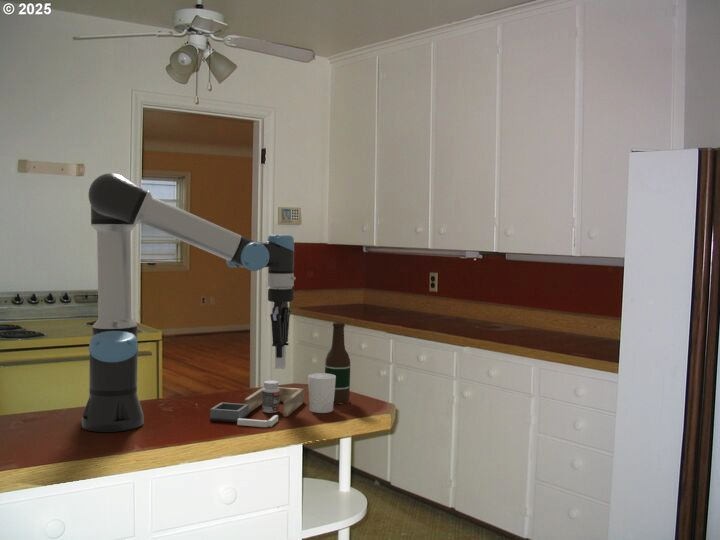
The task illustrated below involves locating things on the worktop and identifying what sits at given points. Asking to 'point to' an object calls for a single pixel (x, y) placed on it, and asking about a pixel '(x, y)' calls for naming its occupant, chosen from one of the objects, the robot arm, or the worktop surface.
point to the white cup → (321, 392)
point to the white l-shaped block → (258, 422)
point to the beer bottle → (339, 364)
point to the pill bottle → (270, 397)
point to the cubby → (286, 395)
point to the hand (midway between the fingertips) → (280, 368)
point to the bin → (229, 412)
